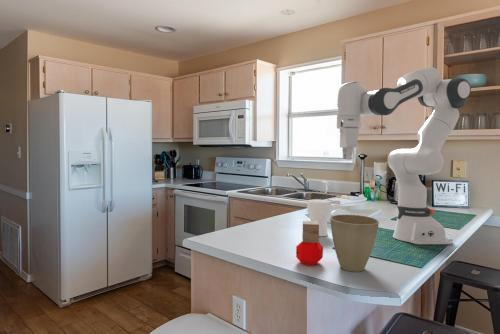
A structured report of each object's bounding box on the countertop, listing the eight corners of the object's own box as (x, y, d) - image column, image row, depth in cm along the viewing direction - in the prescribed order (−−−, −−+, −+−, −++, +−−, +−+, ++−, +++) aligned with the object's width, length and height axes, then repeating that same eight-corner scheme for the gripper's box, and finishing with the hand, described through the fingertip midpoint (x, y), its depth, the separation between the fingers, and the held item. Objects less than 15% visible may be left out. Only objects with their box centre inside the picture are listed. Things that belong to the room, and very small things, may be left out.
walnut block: (302, 238, 118) (302, 220, 118) (317, 238, 118) (317, 221, 117) (302, 242, 113) (303, 223, 113) (318, 242, 113) (319, 224, 112)
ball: (301, 257, 121) (301, 236, 121) (324, 261, 118) (324, 239, 117) (293, 264, 114) (294, 241, 114) (317, 268, 110) (318, 245, 110)
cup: (331, 238, 148) (332, 203, 148) (306, 236, 151) (307, 202, 150) (330, 232, 159) (331, 199, 158) (307, 230, 161) (307, 198, 160)
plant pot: (325, 272, 107) (326, 221, 106) (332, 258, 121) (333, 213, 120) (376, 279, 102) (378, 225, 101) (377, 264, 116) (379, 216, 115)
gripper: (336, 125, 147) (335, 158, 148) (343, 121, 127) (342, 159, 127) (352, 125, 146) (351, 158, 147) (361, 122, 126) (360, 160, 127)
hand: (347, 159), depth 137 cm, fingers open, 8 cm apart
